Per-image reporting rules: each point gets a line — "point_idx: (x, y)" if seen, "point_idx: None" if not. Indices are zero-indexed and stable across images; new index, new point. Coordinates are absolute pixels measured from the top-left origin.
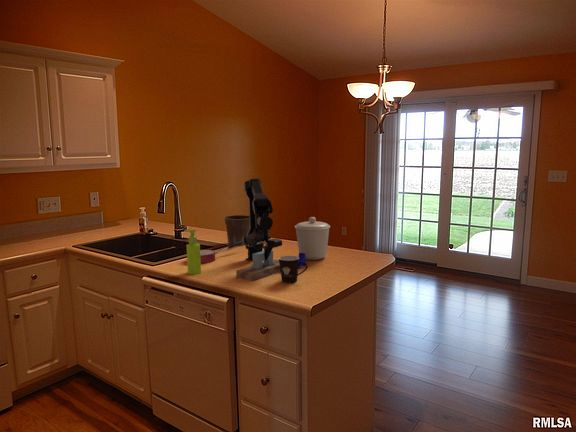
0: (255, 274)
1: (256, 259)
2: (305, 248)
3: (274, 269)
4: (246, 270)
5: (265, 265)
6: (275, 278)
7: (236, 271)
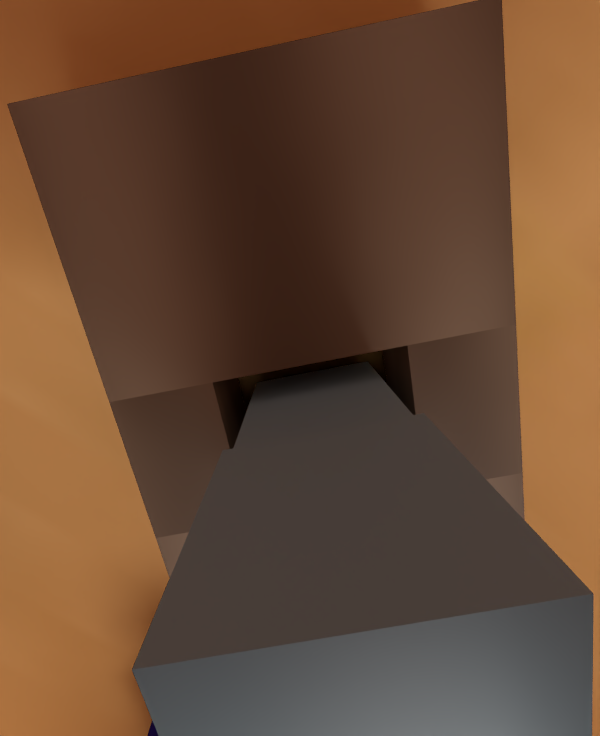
0: (53, 196)
1: (272, 484)
2: None
3: None
4: (327, 172)
5: None
6: (23, 453)
7: (483, 15)
